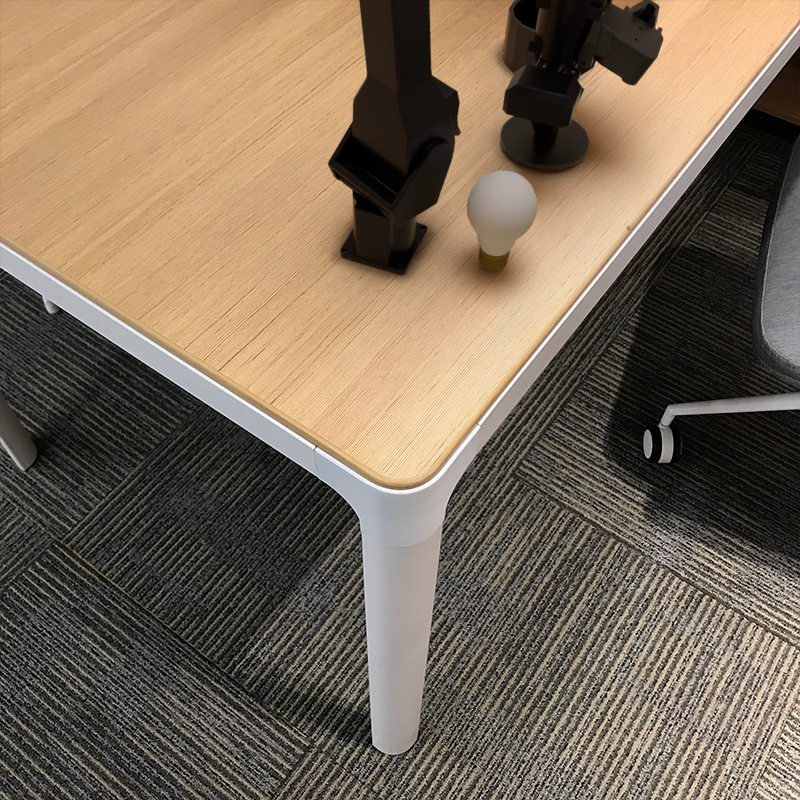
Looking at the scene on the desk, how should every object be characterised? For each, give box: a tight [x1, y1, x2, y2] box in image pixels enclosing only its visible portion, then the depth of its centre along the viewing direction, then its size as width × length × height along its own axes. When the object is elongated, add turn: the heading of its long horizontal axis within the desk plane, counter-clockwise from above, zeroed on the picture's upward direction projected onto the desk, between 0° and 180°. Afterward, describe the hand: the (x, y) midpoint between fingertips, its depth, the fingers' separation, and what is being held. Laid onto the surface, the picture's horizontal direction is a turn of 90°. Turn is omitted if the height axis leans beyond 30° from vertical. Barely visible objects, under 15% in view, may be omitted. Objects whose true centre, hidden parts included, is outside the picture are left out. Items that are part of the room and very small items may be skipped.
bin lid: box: [499, 116, 590, 171], centre depth 79 cm, size 9×9×5 cm
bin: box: [502, 0, 539, 73], centre depth 88 cm, size 9×9×6 cm
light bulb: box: [466, 170, 538, 272], centre depth 66 cm, size 6×6×10 cm
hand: (545, 132), depth 79 cm, fingers closed on bin lid, 2 cm apart
